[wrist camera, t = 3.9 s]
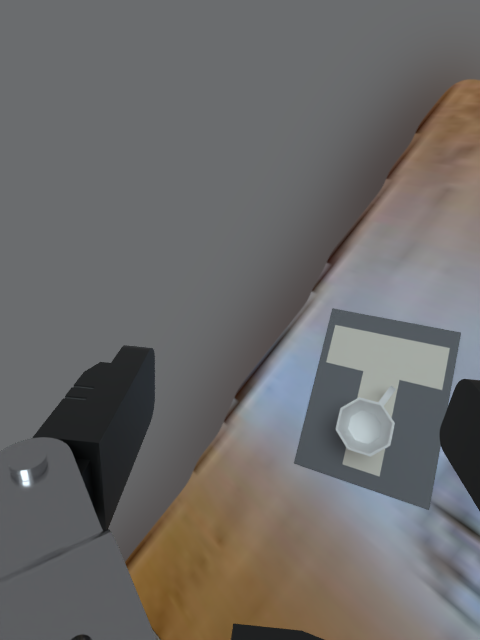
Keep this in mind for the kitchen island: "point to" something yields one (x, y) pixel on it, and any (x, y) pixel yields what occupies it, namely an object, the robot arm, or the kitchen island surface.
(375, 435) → the cup
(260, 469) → the kitchen island surface
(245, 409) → the kitchen island surface
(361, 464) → the t mat
